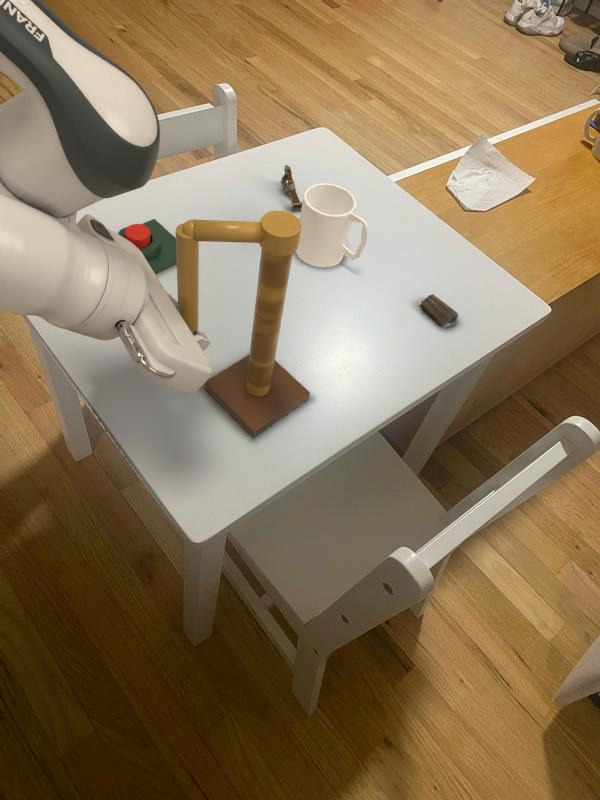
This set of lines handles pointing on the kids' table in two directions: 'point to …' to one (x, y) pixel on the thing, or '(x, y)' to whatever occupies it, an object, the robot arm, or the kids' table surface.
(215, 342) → the kids' table surface
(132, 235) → the red button
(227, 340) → the kids' table surface
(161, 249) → the button block
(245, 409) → the paper towel holder
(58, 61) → the robot arm
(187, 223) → the bent wooden pipe
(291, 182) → the wooden post with brackets
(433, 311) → the block
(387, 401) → the kids' table surface
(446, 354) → the kids' table surface
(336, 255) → the cup
